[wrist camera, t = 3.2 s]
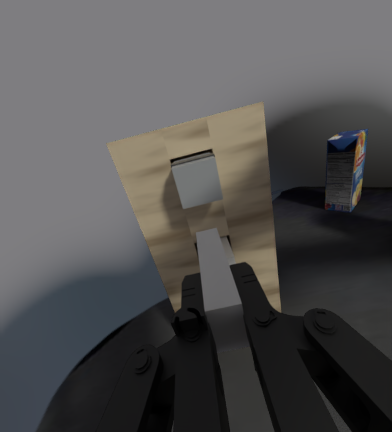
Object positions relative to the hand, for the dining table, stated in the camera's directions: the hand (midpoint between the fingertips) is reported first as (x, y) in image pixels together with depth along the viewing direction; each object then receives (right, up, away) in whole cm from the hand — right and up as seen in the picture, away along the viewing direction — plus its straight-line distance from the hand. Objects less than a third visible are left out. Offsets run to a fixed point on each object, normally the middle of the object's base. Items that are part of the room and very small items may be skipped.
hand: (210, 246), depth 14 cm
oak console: (+6, -19, +27) cm, 34 cm away
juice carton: (+52, +6, +57) cm, 77 cm away
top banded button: (0, +4, +9) cm, 10 cm away
